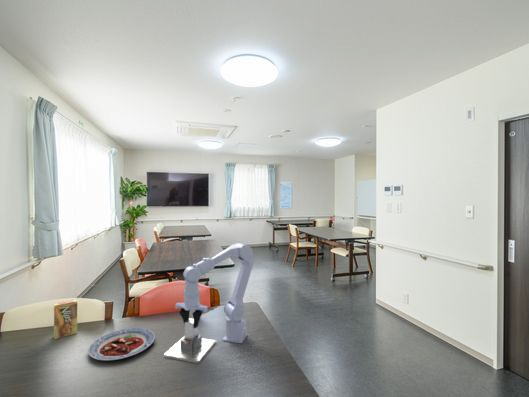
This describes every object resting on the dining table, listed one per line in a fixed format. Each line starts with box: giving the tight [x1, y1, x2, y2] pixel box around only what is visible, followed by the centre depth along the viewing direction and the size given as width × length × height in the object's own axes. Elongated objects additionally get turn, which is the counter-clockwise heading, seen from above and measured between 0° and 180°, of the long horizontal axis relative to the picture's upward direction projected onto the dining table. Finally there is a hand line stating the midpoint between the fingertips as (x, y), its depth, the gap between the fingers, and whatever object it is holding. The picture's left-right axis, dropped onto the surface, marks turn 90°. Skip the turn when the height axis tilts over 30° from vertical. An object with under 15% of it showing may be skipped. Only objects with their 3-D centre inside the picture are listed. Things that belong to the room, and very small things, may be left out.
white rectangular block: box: [184, 318, 199, 341], centre depth 116 cm, size 4×4×8 cm
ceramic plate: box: [87, 327, 156, 361], centre depth 118 cm, size 26×26×3 cm
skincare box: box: [183, 289, 201, 319], centre depth 147 cm, size 8×6×15 cm
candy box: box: [53, 299, 78, 340], centre depth 128 cm, size 9×4×15 cm, turn 129°
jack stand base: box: [163, 333, 217, 364], centre depth 116 cm, size 16×16×5 cm
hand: (191, 326), depth 116 cm, fingers closed on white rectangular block, 4 cm apart
